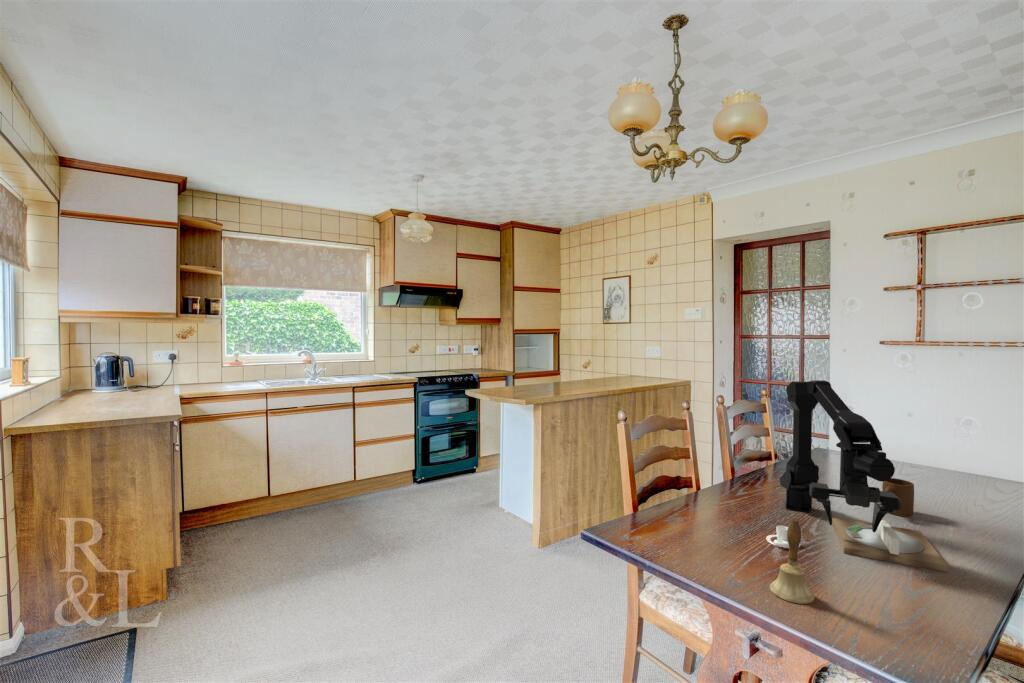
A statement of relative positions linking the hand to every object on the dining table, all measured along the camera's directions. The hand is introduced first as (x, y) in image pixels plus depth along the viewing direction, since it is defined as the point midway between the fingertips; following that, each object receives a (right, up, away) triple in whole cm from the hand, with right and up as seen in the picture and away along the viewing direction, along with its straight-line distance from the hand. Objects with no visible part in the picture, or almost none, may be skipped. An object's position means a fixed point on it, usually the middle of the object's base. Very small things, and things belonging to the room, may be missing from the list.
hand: (851, 528), depth 124 cm
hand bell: (-28, -6, -22) cm, 36 cm away
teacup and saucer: (-20, -5, +3) cm, 20 cm away
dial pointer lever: (+8, -3, -1) cm, 8 cm away
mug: (+28, -4, +21) cm, 35 cm away
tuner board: (+9, -5, +1) cm, 10 cm away
